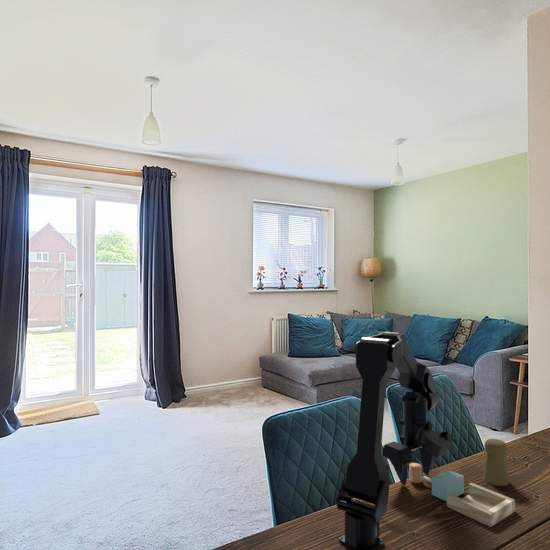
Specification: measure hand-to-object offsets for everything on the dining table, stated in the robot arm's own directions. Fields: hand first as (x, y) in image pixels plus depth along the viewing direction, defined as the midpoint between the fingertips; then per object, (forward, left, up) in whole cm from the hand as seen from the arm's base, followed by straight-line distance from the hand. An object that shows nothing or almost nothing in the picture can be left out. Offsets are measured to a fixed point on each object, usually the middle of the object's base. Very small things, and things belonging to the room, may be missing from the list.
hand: (415, 479), depth 113 cm
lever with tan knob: (0, -5, -1) cm, 5 cm away
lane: (0, -17, -1) cm, 17 cm away
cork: (+16, -12, -1) cm, 20 cm away
